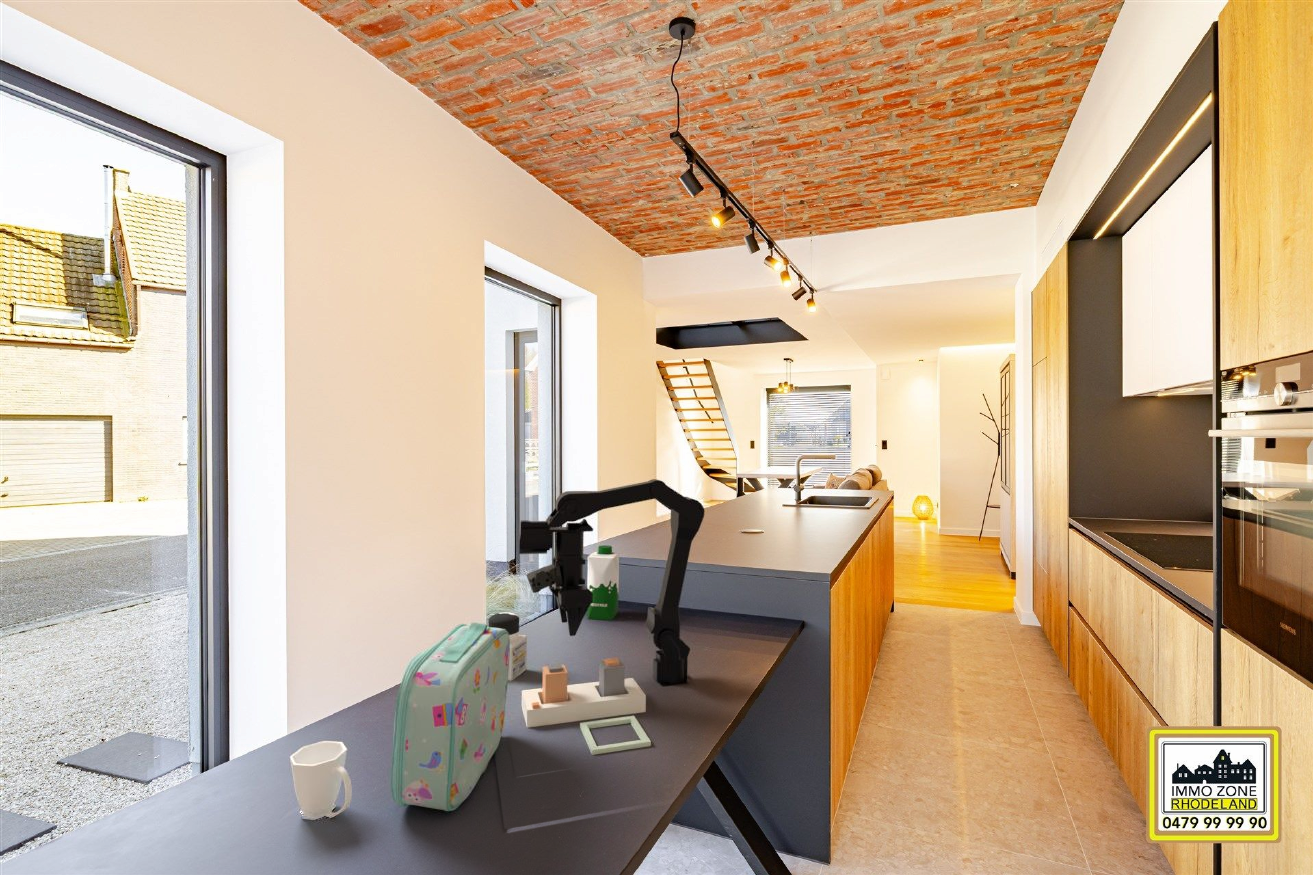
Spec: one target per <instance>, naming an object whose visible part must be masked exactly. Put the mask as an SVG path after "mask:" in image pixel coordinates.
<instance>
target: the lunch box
mask: <svg viewBox="0 0 1313 875" xmlns="http://www.w3.org/2000/svg"><path fill="white" fill-rule="evenodd" d="M470 623H471V624H469V625H467V624H465V623H460V624H458V625H457V626H455V627H454V628H452V630H450V631H449V632H448V633H447V634H446V635H445V636H444V637H443V638H441V639H440V640H439V641H438V642H437V643H435V644H434V645H433V646H431V647H430V648H428V649H425V650H424V651H423V652H420V653H419V654H417V655H415V656H414V657H413V658H411V660H410V661H409V662H408V665H407V667H406V669H405V671H404V673H403V676H402V679H401V682H400V685H399V689H398V691H397V696H396V702H395V713H394V717H393V718H394V720H393V721H394V722H393V739H392V740H393V741H392V754H391V755H392V756H391V768H390V790H391V797H392V800H393V801H394V803H396V804H397V806H398V807H399V808H402V807H403V808H404V807H406V806H408V805H410V806H411V805H412V806H417V807H422V808H428V809H429V808H430V809H436V810H442V811H446V812H452V811H455V810H456V809H458V808H459V806H461V804H463V802H464V801H465V800H466V799H467V798H468V797H469V796H470V794H471V793H472V791H473V790H474V788H475V786H476V785H477V783H478V781H479V780H480V777H481V776H482V774H484V773H485V772H486V769H487V768H488V765H489V762H490V760H491V758H492V757H493V755H494V754H495V752H496V751H497V749H498V748H499V745H500V741H501V737H502V733H503V730H504V724H505V717H506V701H507V700H506V699H507V693H508V692H507V691H508V682H509V680H508V671H509V654H510V638H509V634H508V632H507V631H506V630H505V629H500V628H493V627H488V623H483V622H470Z"/></svg>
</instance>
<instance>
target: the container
mask: <svg viewBox="0 0 1313 875" xmlns="http://www.w3.org/2000/svg"><path fill="white" fill-rule="evenodd" d="M487 627H493V628H500V629H505V630H506V631H507V632H508V634H509V638H510V654H509V671H508V681H513V680H515V679H516V678H517V677H519V676H521V674H522V673H524V672H525V671H526V670H527V661H528V658H527V655H528V654H527V652H528V649H527V648H528V647H527V644H528V636H527V635H525V634H520V616H519V615H518V614H517V613H512V612H507V611H506V612H499V613H498V612H497V613H495V614H493V615H491V616H489V618H488V625H487Z"/></svg>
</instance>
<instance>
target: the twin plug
mask: <svg viewBox="0 0 1313 875" xmlns="http://www.w3.org/2000/svg"><path fill="white" fill-rule="evenodd" d="M603 659H604V660H599V661H598V662H599V664H598V665H599V668H598V671H599V673H598V682H599V695H600V696H601V697H606V696H614V695H622V694H624V682H625V679H626V678H625V676H626V675H625V674H626V671H625V668H626V666H625V665H624V663H623V662H622V661H621V659H620V658H617V657H611V658H603Z"/></svg>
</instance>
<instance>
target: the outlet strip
mask: <svg viewBox="0 0 1313 875" xmlns="http://www.w3.org/2000/svg"><path fill="white" fill-rule="evenodd" d="M646 702H647V695H646V694H645V692H644V691H643V690H642V688H641V687H640V686H639V685H638V683H637V682H636V680H635V679H634V678H633V677H628V678H625V682H624V694H622V695H614V696H606V697H601V696H600V695H599V681H593V682H584V683H576V684H567V701H565V702H557V703H549V704H542V687H541V688H540V687H539V688H532V689H523V690H521V709H522V713H523V718H524V721H525V725H526V728H532V727H533V728H535V727H536V728H537V727H541V726H549V725H557V724H564V723H572V722H573V723H574V722H580V721H587V720H595V719H602V718H610V717H617V716H618V717H619V716H625V715H633V714H639V713H646V709H647V706H646V705H647V704H646Z"/></svg>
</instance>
